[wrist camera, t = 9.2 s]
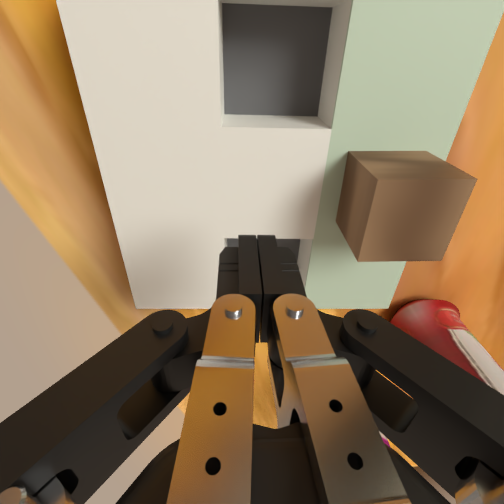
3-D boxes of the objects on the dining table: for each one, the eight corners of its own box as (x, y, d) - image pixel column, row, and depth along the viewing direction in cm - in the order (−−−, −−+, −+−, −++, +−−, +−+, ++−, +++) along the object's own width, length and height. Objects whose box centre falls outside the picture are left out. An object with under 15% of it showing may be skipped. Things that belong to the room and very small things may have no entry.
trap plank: (149, 276, 27) (136, 308, 23) (85, -27, 16) (43, -48, 12) (370, 277, 28) (388, 308, 24) (462, -11, 16) (518, -26, 13)
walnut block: (335, 221, 20) (357, 262, 16) (348, 151, 17) (378, 179, 13) (403, 220, 20) (441, 260, 16) (426, 150, 17) (477, 179, 13)
